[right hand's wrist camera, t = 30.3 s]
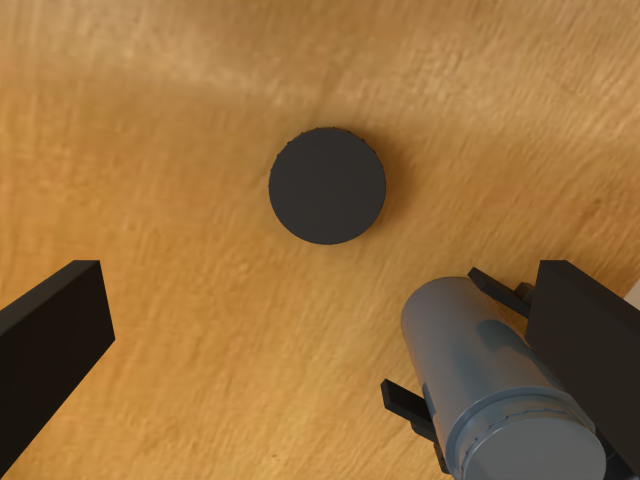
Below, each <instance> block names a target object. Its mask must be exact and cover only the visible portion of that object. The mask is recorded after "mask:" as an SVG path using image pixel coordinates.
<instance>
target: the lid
mask: <svg viewBox="0 0 640 480" xmlns="http://www.w3.org/2000/svg"><path fill="white" fill-rule="evenodd" d="M375 153H376V152H375V151H374V150H372V149H371V148H370V147H369V146H368V145H367V144H366V143H365V142H364V140H363V139H360V138H359V137H358V136H356V135H354V134H352V133H351V132H350V131H345V130H342V129H338V128H334V127H333V128H318V127H317V128H316V129H313V130H309V131H307V132H304V133H303V132H302V133H301V134H300V135H299V136H297V137H295V138H294V139H293V140H292V141H289V142H288V143H287V145H286V146H285V148H284V149H283V150H282V151H281V152H280V153H279V154H278V155H277V158H276V160H275V162H274V164H273V167H272V169H271V170H270V171H271V173H270V178H269V185H268V187H269V196H270V201H271V204H272V207H273V210H274V212H275V214H276V216H277V217H278V219H279V220H280V222H281V223H282V224H283V225H284V227H285V228H287V229H288V230H289V231H290V232H291V233H293V234H294V235H295V236H297V237H299V238H301V239H303V240H305V241H308V242H311V243H315V244H323V245H332V244H339V243H343V242H346V241H349V240H351V239H353V238H355V237H357V236H359V235H360V234H362V233H363V232H364V231H366V230H367V229H368V228H369V227H370V226H371V224H372V223H373V222H374V221H375V219H376V218H377V216H378V215H379V213H380V210H381V208H382V206H383V202H384V199H385V192H386V181H385V175H384V171H383V166H382V165H381V163H380V161H379V159H378V157H377V155H376V154H375Z"/></svg>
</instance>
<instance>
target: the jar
mask: <svg viewBox="0 0 640 480" xmlns="http://www.w3.org/2000/svg"><path fill="white" fill-rule="evenodd" d="M401 330H402V333H403V336H404V339H405V342H406V345H407V348H408V351H409V354H410V357H411V360H412V363H413V366H414V369H415V372H416V375H417V378H418V381H419V384H420V387H421V390H422V393H423V396H424V399H425V402H426V405H427V408H428V411H429V414H430V417H431V420H432V423H433V426H434V429H435V432H436V435H437V438H438V441H439V444H440V447H441V450H442V453H443V456H444V459H445V462H446V465H447V467H448V470H449V472H450V474H451V475H452V477H453V478H454V480H603V478H604V476H605V471H606V455H605V452H604V449H603V446H602V445H601V443H600V441H599V440H598V438H597V437H596V436H595V427H594V424H593V422H592V421H591V420H590V418H589V417H588V416H587V415H586V414H585V412H584V411H583V410H582V409H581V407H580V406H579V405H578V404H577V403H576V401H575V400H574V399H573V398H572V397H571V395H570V394H569V393H568V392H567V390H566V389H565V388H564V387H563V386H562V384H561V383H560V382H559V381H558V380H557V378H556V377H555V376H554V375H553V373H552V372H551V371H550V370H549V369H548V367H547V366H546V365H545V364H544V363H543V361H542V360H541V359H540V358H539V356H538V355H537V354H536V353H535V352H534V350H533V349H532V348H531V347H530V346H529V344H528V343H527V342H526V341H525V336H524V335H523V334H522V333H521V332H520V331H519V329H518V328H517V327H516V326H515V325H514V324H513V322H512V321H511V320H510V319H509V318H508V317H507V315H506V314H505V313H504V312H503V311H502V309H501V308H500V307H499V306H498V305H497V304H496V302H495V301H494V300H493V299H492V298H491V297H490V296H489V295H487V294H486V293H484V292H482V291H481V290H480V289H479V288H478V287H477V286H476V285H475V283H474V282H473V281H470V280H468V279H464V278H459V277H445V278H440V279H436V280H433V281H431V282H428V283H426V284H425V285H423V286H421V287H420V288H419V289H417V290H416V291H415V292H414V293H413V294H412V295H411V296H410V298H409V299H408V300H407V302H406V304H405V306H404V308H403V311H402V315H401Z"/></svg>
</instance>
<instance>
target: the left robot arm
mask: <svg viewBox="0 0 640 480" xmlns="http://www.w3.org/2000/svg"><path fill="white" fill-rule="evenodd" d="M467 275H468V276H469V277H470V278H471V280H472V281H473V282H474V283H475V285H476V286H477V287H478V288H479V289H480V290H481V291H482V292H484V293H486V294H487V295H489V296H491V297H492V298H494V299H496V300H497V301H499V302H501V303H502V304H504V305H506V306H507V307H509V308H511V309H512V310H514V311H516V312H517V313H519V314H521V315H522V316H524V317H526V318H527V319H529V315H530V310H531V305H532V300H533V295H534V290H535V287H534V286H532V285H531V284H529V283H524V282H521V284H520V285H519V286H518V287H517V288H516V289H515V291H513V290H511V289H510V288H508V287H506V286H505V285H503V284H501V283H500V282H498V281H496V280H495V279H493V278H491V277H490V276H488V275H486V274H485V273H483V272H482V271H480V270H478V269H477V268H475V267H473V268H472V269H471V271H470V272H469V273H468V274H467ZM380 386H381V391H382V396H383V401H384V406H385V408H386V409H388V410H390V411H391V412H393V413H395V414H397V415H399V416H401V417H403V418H405V419H407V420H409V421H410V423H411V426H412V429H413V430H414V431H415V433H417V434H419V435H421V436H423V437H424V438H426V439H428V440H430V441H432V442H434V449H435V452H436V455H437V458H438V461H439V465H440V468H441V470H442V472H443V473H445V474H450V472H449V470H448V467H447V465H446V462H445V459H444V456H443V453H442V450H441V447H440V444H439V441H438V438H437V435H436V432H435V429H434V426H433V423H432V420H431V417H430V414H429V411H428V408H427V405H426V402H425V399H423V398H421V397H420V396H418V395H416V394H414V393H412V392H410V391H408V390H406V389H404V388H403V387H401V386H399V385H397V384H395V383H393V382H391V381H389V380H388V379H386V378H385V380H384V381H383V382H382V383H381V385H380ZM593 424H594V423H593ZM594 427H595V436H596V437H597V438H598V440H599V441H600V443H601V445H602V446H603V449H604V452H605V455H606V471H605V476H604V478H603V480H640V479H639V478H638V477H637V475H636V474H635V473H634V472H633V471H632V469H631V468H630V467H629V466H628V465H627V463H626V462H625V461H624V460H623V458H622V457H621V456H620V455H619V454H618V452H617V451H616V450H615V449H614V448H613V446H612V445H611V444H610V443H609V441H608V440H607V439H606V438H605V437H604V435H603V434H602V433H601V432H600V431H599V429H598V428H597V427H596V426H595V424H594ZM450 475H451V474H450Z"/></svg>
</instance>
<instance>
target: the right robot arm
mask: <svg viewBox="0 0 640 480" xmlns="http://www.w3.org/2000/svg"><path fill="white" fill-rule="evenodd" d="M114 341H115V335H114V330H113V325H112V320H111V315H110V310H109V305H108V300H107V295H106V290H105V285H104V280H103V275H102V270H101V265H100V260H74V261H72V262H71V263H69V264H68V265H66V266H65V267H63V268H62V269H60V270H59V271H57V272H56V273H55V274H53V275H52V276H50V277H49V278H47V279H46V280H44V281H43V282H41V283H40V284H39V285H37V286H36V287H34V288H33V289H31V290H30V291H28V292H27V293H25V294H24V295H23V296H21V297H20V298H18V299H17V300H15V301H14V302H12V303H11V304H9V305H8V306H7V307H5V308H4V309H2V310H1V311H0V479H1V478H2V477H3V475H4V474H5V473H6V472H7V471H8V469H9V468H10V467H11V466H12V465H13V463H14V462H15V461H16V460H17V458H18V457H19V456H20V455H21V454H22V452H23V451H24V450H25V449H26V448H27V446H28V445H29V444H30V443H31V441H32V440H33V439H34V438H35V437H36V435H37V434H38V433H39V432H40V431H41V429H42V428H43V427H44V426H45V424H46V423H47V422H48V421H49V420H50V418H51V417H52V416H53V415H54V414H55V412H56V411H57V410H58V409H59V407H60V406H61V405H62V404H63V403H64V401H65V400H66V399H67V398H68V397H69V395H70V394H71V393H72V392H73V390H74V389H75V388H76V387H77V386H78V384H79V383H80V382H81V381H82V380H83V378H84V377H85V376H86V375H87V373H88V372H89V371H90V370H91V369H92V367H93V366H94V365H95V364H96V363H97V361H98V360H99V359H100V358H101V356H102V355H103V354H104V353H105V352H106V350H107V349H108V348H109V347H110V346H111V344H112V343H113V342H114ZM525 341H526V342H527V343H528V344H529V346H530V347H531V348H532V349H533V350H534V352H535V353H536V354H537V355H538V356H539V358H540V359H541V360H542V361H543V363H544V364H545V365H546V366H547V367H548V369H549V370H550V371H551V372H552V373H553V375H554V376H555V377H556V378H557V380H558V381H559V382H560V383H561V384H562V386H563V387H564V388H565V389H566V390H567V392H568V393H569V394H570V395H571V397H572V398H573V399H574V400H575V401H576V403H577V404H578V405H579V406H580V407H581V409H582V410H583V411H584V412H585V414H586V415H587V416H588V417H589V418H590V420H591V421H592V422H593V423H594V424H595V426H596V427H597V428H598V429H599V431H600V432H601V433H602V434H603V435H604V437H605V438H606V439H607V440H608V441H609V443H610V444H611V445H612V446H613V448H614V449H615V450H616V451H617V452H618V454H619V455H620V456H621V457H622V458H623V460H624V461H625V462H626V463H627V465H628V466H629V467H630V468H631V469H632V471H633V472H634V473H635V474H636V475H637V477H638V478H639V479H640V311H639V310H638V309H636V308H635V307H633V306H632V305H631V304H629V303H628V302H626V301H625V300H623V299H622V298H620V297H619V296H617V295H616V294H615V293H613V292H612V291H610V290H609V289H607V288H606V287H604V286H603V285H601V284H600V283H599V282H597V281H596V280H594V279H593V278H591V277H590V276H588V275H587V274H585V273H584V272H583V271H581V270H580V269H578V268H577V267H575V266H574V265H572V264H571V263H569V262H568V261H566V260H540V265H539V270H538V275H537V280H536V285H535V290H534V295H533V300H532V305H531V310H530V315H529V320H528V325H527V330H526V335H525Z"/></svg>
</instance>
